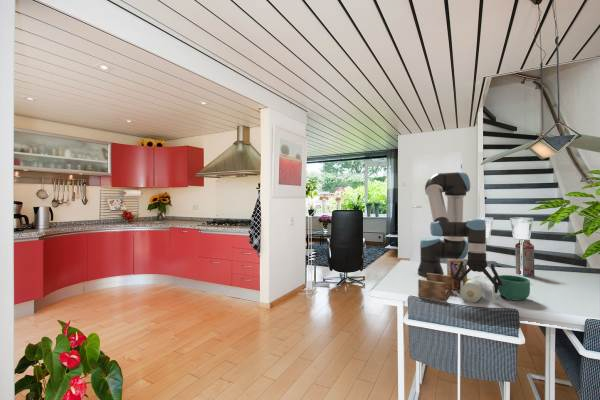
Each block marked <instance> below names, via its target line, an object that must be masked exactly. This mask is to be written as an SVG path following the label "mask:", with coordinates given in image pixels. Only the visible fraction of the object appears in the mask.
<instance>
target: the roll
mask: <svg viewBox="0 0 600 400" xmlns="http://www.w3.org/2000/svg"><path fill="white" fill-rule="evenodd" d="M483 293H484V285H483V284H482V283H481V282H480V281H479V280H477V279H473V278H472V279H469V280H468V279H467V282H466V283H465V284H464V286H463V287H462V289H460V296H461V297H462V299H463V300H464V301H466V302H468V303H476V302H478V301H480V299H481V297H482V295H483Z"/></svg>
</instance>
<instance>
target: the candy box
mask: <svg viewBox="0 0 600 400" xmlns="http://www.w3.org/2000/svg"><path fill="white" fill-rule="evenodd" d="M462 260H463V261H466V262H467V259H465V258H464V259H446V272H447V273H446V275H447V276H452V290H461V288H459V287H458V281H457V280H456V279H454V276H455V274H456V272H457V271H458V269H459V267H460V262H461V261H462ZM467 269H468V265H467V264H465V266H463V268H462V270H461V272H460V274H459V276H458V277H459V278H460V277H461V276H462V275H463V274H464V273H465V272H466V270H467ZM461 281H463V286H464V284H465V283H466V282H467V281H468V274H467V275H466V276H465V277H464V278H463V279H462V280H461Z"/></svg>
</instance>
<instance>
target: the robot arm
mask: <svg viewBox="0 0 600 400" xmlns="http://www.w3.org/2000/svg"><path fill="white" fill-rule="evenodd" d="M424 191H425V195H427V196H428V202H429V206H430V207H429V208H430V213H431V216H432V220H433V221H432V222H430V224H429V225H430V227H429V229H430V234H431V237H426V238H422V239H420V243H419V248H420V251H419V252H420V258H419V259H420V262H419V265H418V269H417V275H419V276H421V277H426V278H427V273H431V274H439V275H445V274H444V270H443V267H442V264H441V259H443V260H444V259H445V260H449V259H464V260H465V258H466V257H467V260H466V261H463V260H462V261H461V262H460V267H459V269H458V271H457V272H456V274H455V276H454V279H456V280H457V281H458V287H459V288H461V289H462V287H463V281H461V280H462V279H463V278H464V277H465V276H466V275H467V276H468V274H469V273H470V272H471V271H472V272H478V273H483V274H484V275H485V276H486V277H487V279H489V281H490V282H491V283H492V301H494V302H495V301H496V294H498V293H499V291H498V286H502V284H503V283H502V281H501V279H500V277H499V276H500V275H499V273H498V272H497V269H496V268H495V266H496V265H495V263H494V262H493V263H488V262H487V253H486V252H487V225H486V224H487V223H486V220H485V219H481V218H476V219H475V218H470V219H467V221H463V219H464V216H463V215H464V197H466V196H467V193H468V192H470V191H471V180H470V178H469V175H468V174H467V173H466V172H459V171H458V172H439V173H438V172H437V173H436V174H433V175H432V176H430V177H429V178H428V180H427V181H426V182H425V185H424ZM443 193H444V194H443ZM443 195H444V196H445V197H446V198H447V199H446V200H447V201H446V203H447V206H446V204H445V199H444V197H443ZM440 237H441V238H442V237H443V239H441V238H440ZM466 238H467V240H465V239H466ZM465 264H467V270H466V272H465V273H464V274H463V275H462V276H461V277H460V278H459V277H458V276H459V274H460V272H461V270H462V268H463V266H465ZM487 268H489V269H491V272H492V273H493V276H492V275H491V274H490V272H488V270H487ZM494 276H495V278H496V280H497V282H496V281H495V280H494V279H493V277H494ZM461 289H460V290H461Z"/></svg>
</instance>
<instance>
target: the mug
mask: <svg viewBox="0 0 600 400" xmlns="http://www.w3.org/2000/svg"><path fill="white" fill-rule="evenodd" d="M492 277H493V279H494V280H495V281H496V282H497V283H498V281H497V280H496V278H495V276H494V275H493V276H492ZM499 277H500V279H501V281H502V283H503V284H502V286H498V293H499V294H500V295H501V296H502V297H504V298H506V299H508V300H512V301H523V300H526V299H527V298H528V297H530V294H531V281H530V279H529V278H526V277H524V276H520V275H519V276H518V275H509V274H508V275H506V274H503V275H502V274H500V275H499Z"/></svg>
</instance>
